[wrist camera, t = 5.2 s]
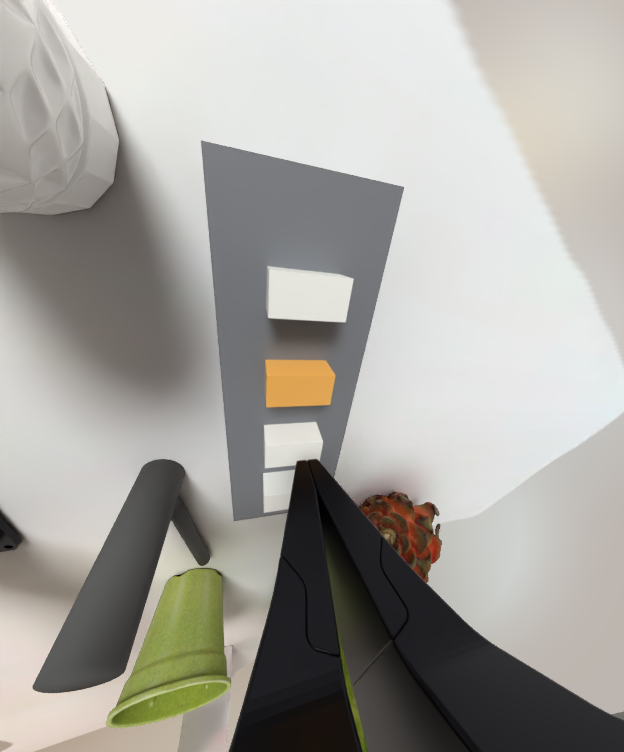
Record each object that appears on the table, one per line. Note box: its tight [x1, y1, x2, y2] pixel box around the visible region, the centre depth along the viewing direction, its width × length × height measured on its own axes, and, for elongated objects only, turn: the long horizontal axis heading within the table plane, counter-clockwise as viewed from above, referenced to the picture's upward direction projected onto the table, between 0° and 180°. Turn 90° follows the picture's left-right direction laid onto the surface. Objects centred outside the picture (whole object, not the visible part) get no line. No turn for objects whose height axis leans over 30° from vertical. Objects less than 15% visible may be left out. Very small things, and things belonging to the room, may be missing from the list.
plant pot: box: [106, 569, 231, 728], centre depth 23 cm, size 9×9×9 cm
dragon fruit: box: [359, 492, 442, 583], centre depth 25 cm, size 8×8×12 cm
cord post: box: [33, 459, 185, 693], centre depth 14 cm, size 3×3×10 cm
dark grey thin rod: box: [171, 497, 210, 566], centre depth 21 cm, size 11×1×1 cm, turn 1°
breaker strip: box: [201, 141, 404, 521], centre depth 13 cm, size 20×7×6 cm, turn 173°
